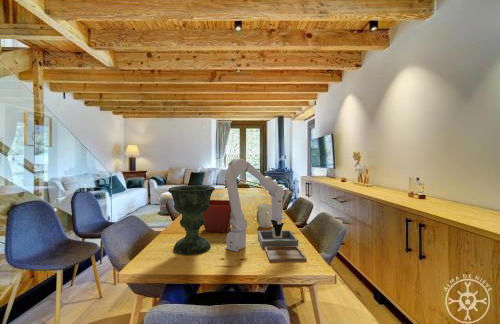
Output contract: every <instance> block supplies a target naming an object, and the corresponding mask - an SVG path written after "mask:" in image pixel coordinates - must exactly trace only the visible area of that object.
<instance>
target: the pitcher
mask: <svg viewBox="0 0 500 324" xmlns="http://www.w3.org/2000/svg"><path fill="white" fill-rule="evenodd" d="M256 207H257V211H256V221H257V225H258V226H259V227H260V228H262V229H268V228H271V227H272V226H273V225H272V222H271V217H272V204H268V203H265V202H261V203H260V204H257V205H256Z"/></svg>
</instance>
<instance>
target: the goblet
mask: <svg viewBox="0 0 500 324" xmlns="http://www.w3.org/2000/svg"><path fill="white" fill-rule="evenodd" d="M215 190H216V188H215V187H214V186H212V185H206V184H205V185H204V184H202V185H199V184H195V185H194V184H191V185H178V186H177V185H176V186H171V187H169V188H168V190H167V191H168V193H169V194H171V197H172V199H173V200H172V201H173V203H174V205H173V208H174V210H175V211H176V212H177V213H179V214H181V219H180V220H179V225H180V226H181V227H182V228H184V230H185V236H184V237H182V238H181V239H179V240H177V241H176V242H175V244H174V246H173V251H174V252H175V253H176V254H178V255H182V256H191V255H198V254H201V253H204V252H206V251H208V250H210V249H211V243H210V241H209V240H208V239H207V238H205V237H203V236H201V235H200V233H199V232H200V230H201V228H202V227H204V225H203V224H204V222H205V220H204V219H203V217H202V214H203V212H205V211H207V210H208V209H209V207H210V204H209V202H210V200H211V197H212V194H213V192H214V191H215Z"/></svg>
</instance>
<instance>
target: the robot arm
mask: <svg viewBox="0 0 500 324" xmlns="http://www.w3.org/2000/svg"><path fill="white" fill-rule="evenodd" d="M225 172H226V173H225V176H224V178H225V179H224V180H225V184H226V190H227V194H228V200H229V201H230V206H231V219H230V223H231V227H230V231H229V232H228V233H227V235H226V247H225V249H226V250H230V251H233V252H235V253H236V252H237V253H238V252H240V249H244V248H246V246H247V245H246V244H247V238H246V237H247V235H246V234H247V232H246V230H247V228H248V221H247V219H246V218H245V215H244V213H243V210H242V205H241V199H240V194H239V189H238V184H237V179H238V177H239V176H240V174H243V173H244V172H246V173H249V174H250V175H251V176H253V177H254V178H255V179H257V180H258V181H259V183H260V186H261V187H263V188H264V189H265V190H266V191H267V192H268V193H269V195H271V205H272V217H271V222H272V225H271V226H272V227H274V229H275V235H276V236H280V234H281V229H282V230H283V227H284V225H285V222H282V221H283V219H286V218H285V216H283V209H284V208H283V200H284V196H285V193H286V191H285V190H284V188H283V186H280V185H279V183H278V182H276V181H275V180H273V177H271V176H268V175H266V176H264V175H263V174H262V173H261V172H260V171H259V170H258V169H257V168H256V167H254V165H253V164H251V163H250V162H249V161H247V160H246V159H244V158H233V159H232V160H231V161H230V162H229V163H228V164H227V169H226V171H225Z"/></svg>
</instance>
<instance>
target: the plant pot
mask: <svg viewBox="0 0 500 324" xmlns="http://www.w3.org/2000/svg"><path fill="white" fill-rule="evenodd" d="M209 204H210V207H209V209H208V210H207V211H205V212H203V214H202V217H203V219H204V220H205V222H204V224H203V228H204V230H205V232H208V233H227V232H228V231H229V229H231V227H232V225H231V223H230V219H231V206H230V201H229V199H228V200H227V199H210V202H209Z"/></svg>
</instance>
